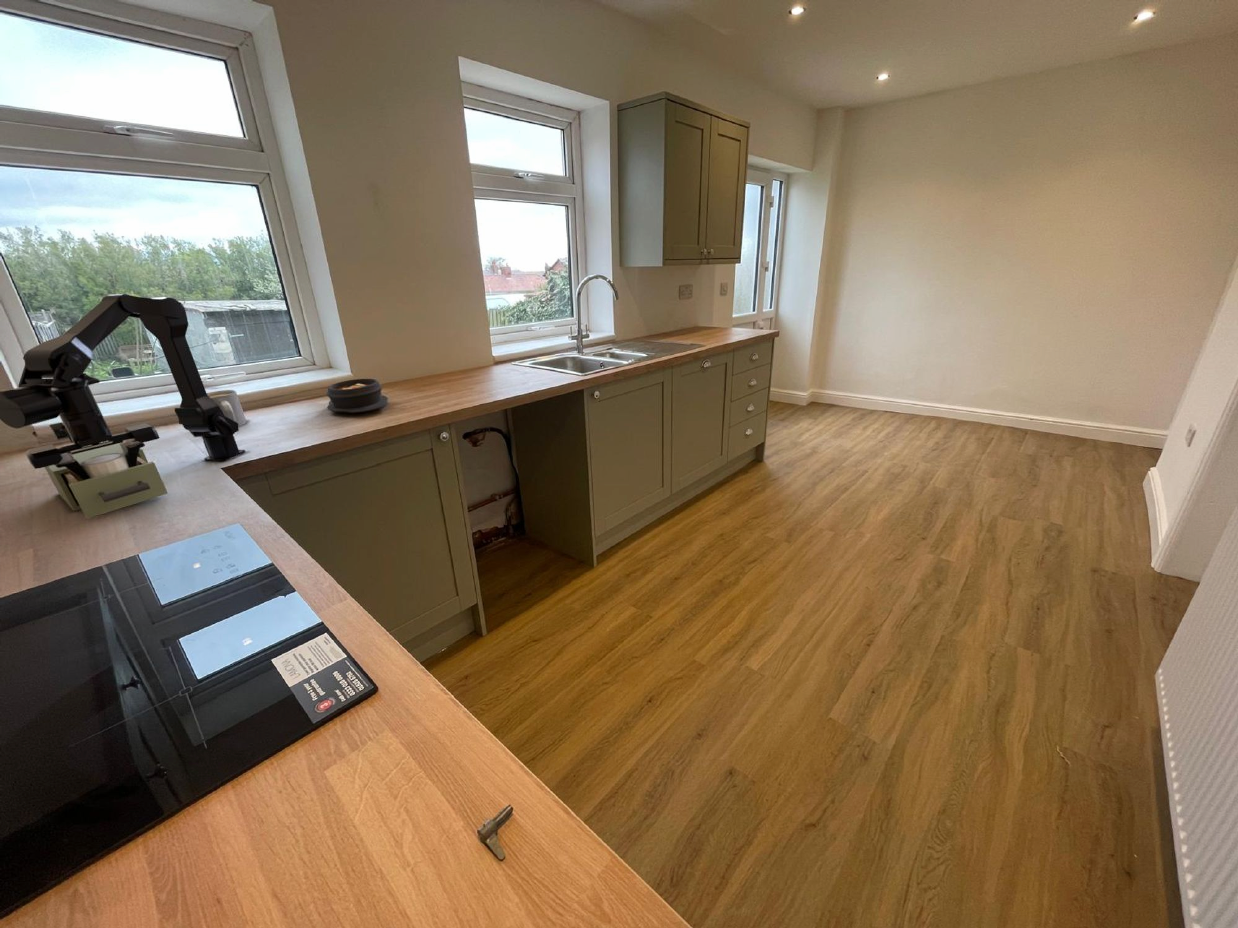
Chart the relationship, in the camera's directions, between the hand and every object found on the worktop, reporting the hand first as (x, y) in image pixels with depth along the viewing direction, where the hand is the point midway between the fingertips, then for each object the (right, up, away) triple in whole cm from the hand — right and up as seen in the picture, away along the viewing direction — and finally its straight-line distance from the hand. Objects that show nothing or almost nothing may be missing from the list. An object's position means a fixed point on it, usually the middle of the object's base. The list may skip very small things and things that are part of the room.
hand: (114, 482), depth 105 cm
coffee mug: (-16, +15, +51) cm, 55 cm away
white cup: (0, -2, +1) cm, 2 cm away
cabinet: (-10, -2, +9) cm, 14 cm away
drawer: (0, -4, +1) cm, 4 cm away
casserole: (+19, +22, +63) cm, 69 cm away
